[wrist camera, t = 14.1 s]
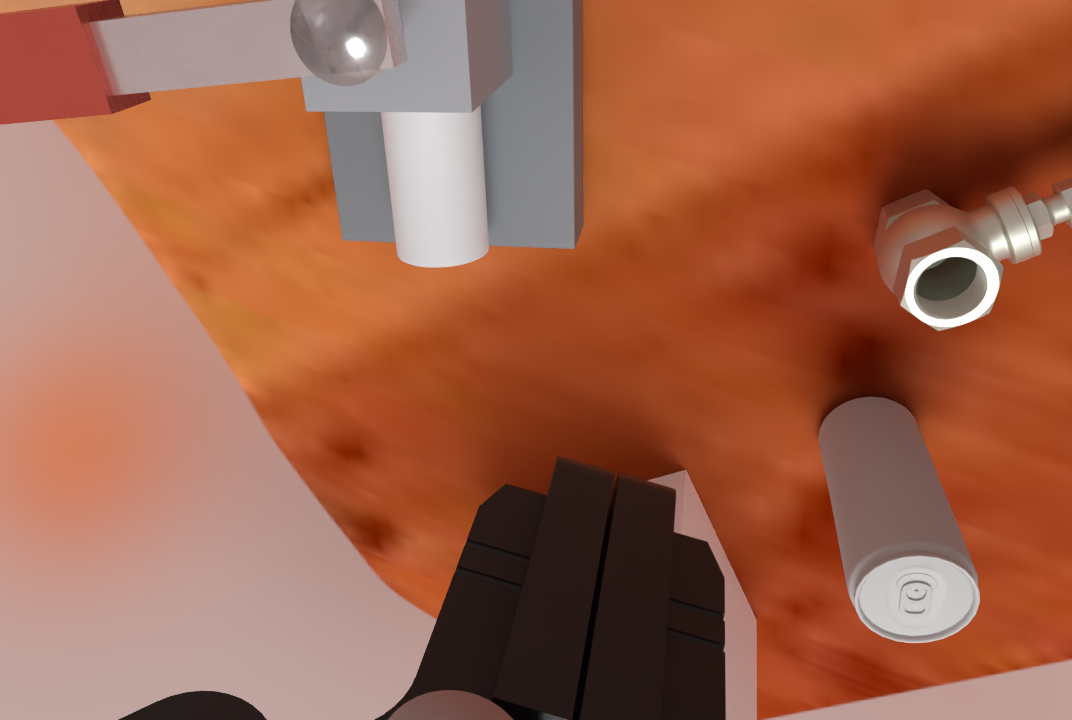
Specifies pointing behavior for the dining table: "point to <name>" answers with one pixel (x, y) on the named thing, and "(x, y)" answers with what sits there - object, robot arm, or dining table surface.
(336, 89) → the pipe manifold
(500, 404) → the dining table surface
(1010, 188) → the valve
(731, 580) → the milk
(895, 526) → the beverage can
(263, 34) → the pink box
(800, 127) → the dining table surface
